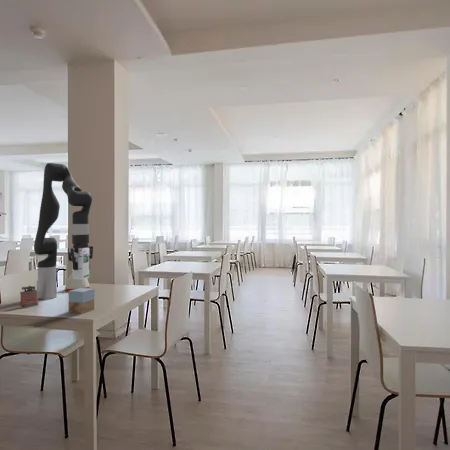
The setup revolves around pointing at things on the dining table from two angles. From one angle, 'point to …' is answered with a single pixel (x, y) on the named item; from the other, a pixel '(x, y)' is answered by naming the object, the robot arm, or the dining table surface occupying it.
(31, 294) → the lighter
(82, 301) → the tower top block
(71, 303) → the tower bottom block
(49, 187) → the robot arm
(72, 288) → the kitchen timer
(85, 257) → the syrup box
